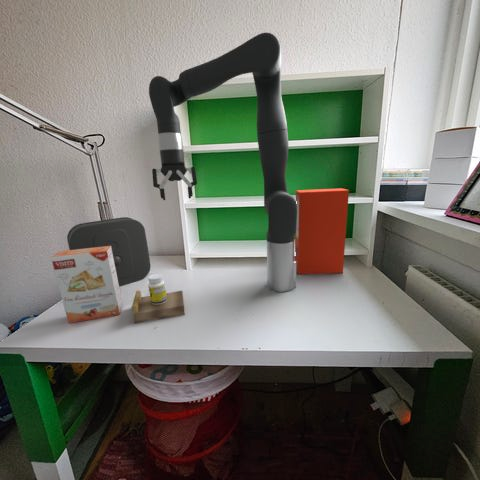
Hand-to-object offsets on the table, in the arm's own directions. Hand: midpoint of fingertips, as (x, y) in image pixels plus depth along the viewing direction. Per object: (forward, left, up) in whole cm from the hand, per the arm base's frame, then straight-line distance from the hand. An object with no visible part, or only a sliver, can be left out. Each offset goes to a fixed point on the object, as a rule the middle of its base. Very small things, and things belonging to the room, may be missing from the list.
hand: (177, 199), depth 86 cm
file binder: (-52, +6, -32) cm, 62 cm away
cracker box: (+28, +12, -32) cm, 44 cm away
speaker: (+26, -10, -32) cm, 43 cm away
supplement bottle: (+9, +16, -29) cm, 35 cm away
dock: (+9, +16, -32) cm, 37 cm away
